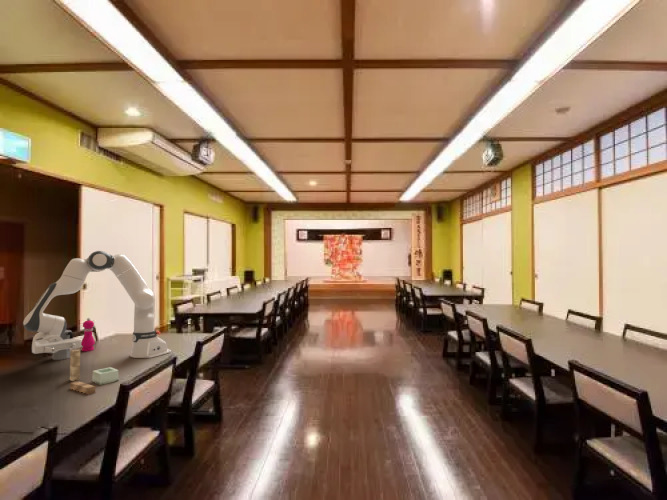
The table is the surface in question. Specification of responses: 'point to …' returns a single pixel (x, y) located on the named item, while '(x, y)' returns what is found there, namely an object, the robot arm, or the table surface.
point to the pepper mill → (88, 336)
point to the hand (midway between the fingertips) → (63, 348)
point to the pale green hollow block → (105, 376)
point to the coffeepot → (65, 352)
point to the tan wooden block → (75, 365)
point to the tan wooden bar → (82, 387)
